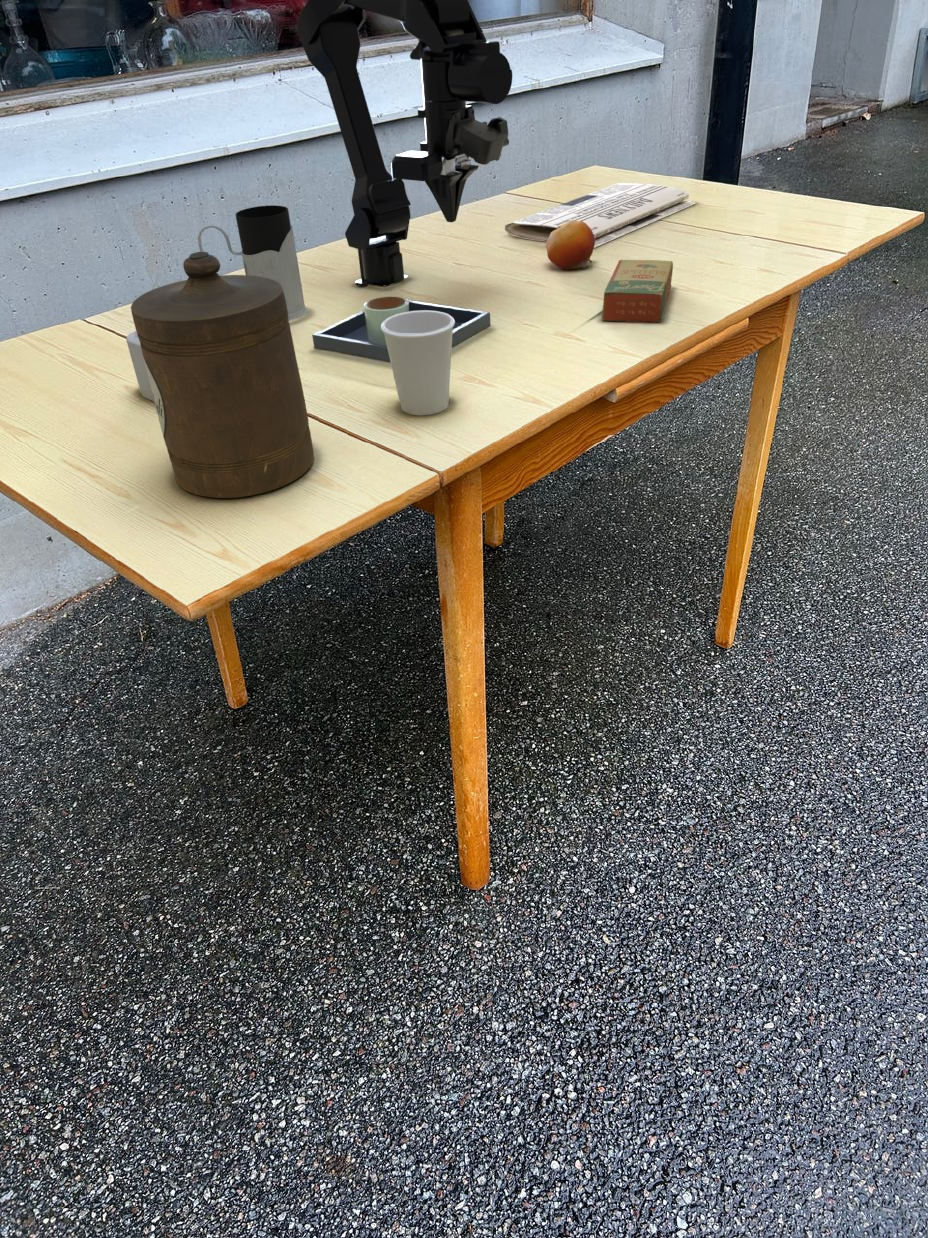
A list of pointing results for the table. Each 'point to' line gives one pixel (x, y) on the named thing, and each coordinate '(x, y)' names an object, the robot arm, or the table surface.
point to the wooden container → (225, 381)
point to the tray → (354, 341)
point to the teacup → (382, 315)
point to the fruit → (571, 245)
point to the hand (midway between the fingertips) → (451, 221)
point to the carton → (638, 291)
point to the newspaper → (606, 212)
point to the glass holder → (269, 251)
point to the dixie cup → (420, 359)
